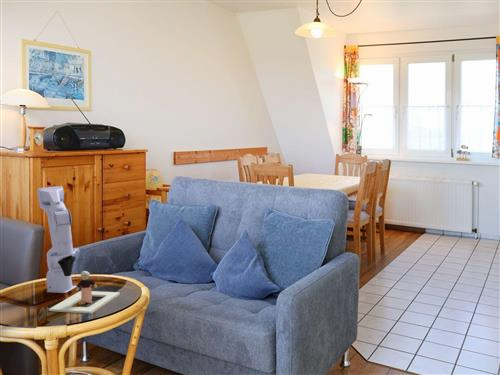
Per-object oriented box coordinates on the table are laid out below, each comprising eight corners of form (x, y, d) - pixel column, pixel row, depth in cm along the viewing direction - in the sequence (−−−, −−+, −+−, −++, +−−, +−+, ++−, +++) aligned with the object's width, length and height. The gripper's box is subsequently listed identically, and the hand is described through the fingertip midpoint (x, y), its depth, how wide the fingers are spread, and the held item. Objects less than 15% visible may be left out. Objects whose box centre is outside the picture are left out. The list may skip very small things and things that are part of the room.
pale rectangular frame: (49, 311, 184) (48, 308, 183) (81, 292, 203) (81, 290, 202) (91, 313, 179) (91, 311, 178) (119, 294, 198) (119, 292, 198)
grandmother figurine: (78, 306, 187) (75, 274, 185) (77, 303, 190) (73, 271, 189) (99, 301, 190) (96, 270, 189) (97, 299, 194) (94, 267, 192)
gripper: (61, 246, 181) (65, 282, 183) (84, 237, 195) (87, 270, 197) (45, 246, 183) (48, 281, 185) (69, 237, 197) (72, 269, 199)
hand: (67, 275), depth 191 cm, fingers closed
